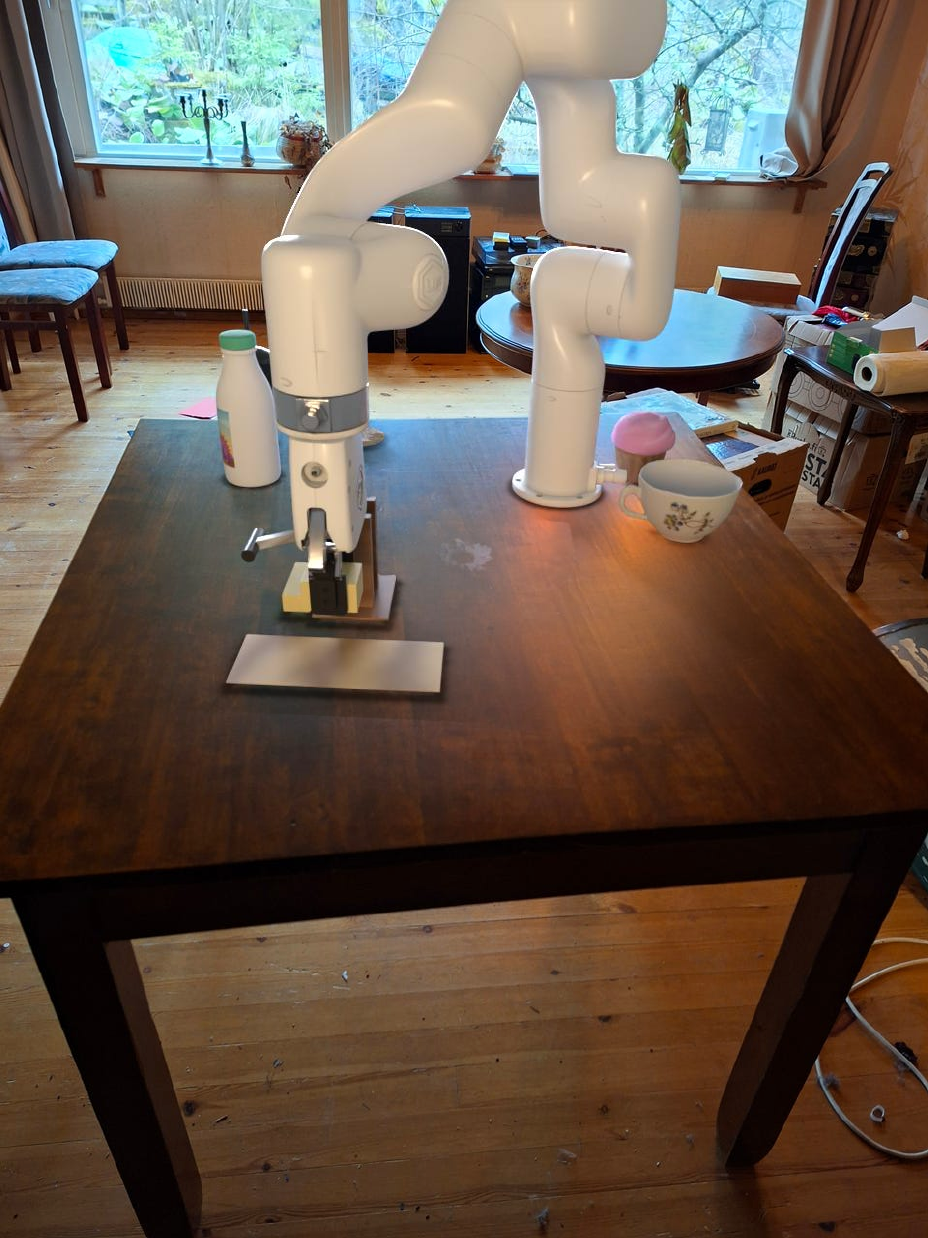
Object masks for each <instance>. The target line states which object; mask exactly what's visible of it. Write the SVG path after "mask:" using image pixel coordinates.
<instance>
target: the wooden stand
mask: <svg viewBox="0 0 928 1238" xmlns="http://www.w3.org/2000/svg"><path fill="white" fill-rule="evenodd" d="M377 510H378V509H377V497H376V496H367V510H366V515H365V519H364V522H363V526H362V530H361V533H360V536H359V540H358V543H357V545H356V548H355V549H354V563H362V571H363V593H362V597H361V601H360V605H359V609H358V612H357V613H347V614H346V615H345V616H331V615H314V614H313V613H312V615H311V618H312V619H329V620H331V619H333V620H355V621H356V620H358V621H380V622H381V621H382V622H389V619H390V615H391V609H392V605H393V598H394V594H395V589H396V588H395V587H396V584H397V579H398V578H397V574H379V548H378V546H379V544H378V542H379V541H378V515H377V513H378V512H377Z"/></svg>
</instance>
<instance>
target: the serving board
mask: <svg viewBox="0 0 928 1238" xmlns="http://www.w3.org/2000/svg"><path fill="white" fill-rule="evenodd" d="M444 646H445V643H444V642H442V641H441V642H437V641H415V640H414V641H413V640H395V639H393V640H392V639H391V640H390V639H368V638H367V639H365V638H343V637H319V636H299V635H298V636H297V635H296V636H295V635H271V634H250V633H248V634H246V635H245V637H244V640H243V642H242V645H241V646H240V649H239V651H238V654H237V656H236V658H235V661H234V663H233V665H232V667H231V670H230V671H229V674H228V677H227V679H226V681H225V684H237V685H238V684H239V685H263V686H285V687H287V686H288V687H308V688H309V687H311V688H330V689H332V688H333V689H334V688H335V689H354V690H355V689H358V690H376V691H377V690H380V691H399V692H401V691H402V692H403V691H404V692H423V693H424V692H425V693H427V692H428V693H440V692H441V680H442V669H443V660H444V659H443V657H444Z"/></svg>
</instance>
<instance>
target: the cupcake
mask: <svg viewBox="0 0 928 1238" xmlns="http://www.w3.org/2000/svg"><path fill="white" fill-rule="evenodd" d="M610 440H611V442H612V444H613V446H614V456H615V463H616V467H617V470H627V481H629V482H630V483H633V484H638V478H639V473H640V470H641V468H642V467H644V466H645V465H646V464H647V463H650V462H653V461H656V460H664V459H666V454H667V452H668V451H670V450H672V449H673V447H674V446H675V443H676V432H675V430H674V429H673V427H672V424H671V422H670V421H669V418H668V417H667V416H665V415H664V414H662V413H659V412H655V411H648V410H633V411H631V412H629V413H628V414H627V413H626V414H624V415H623V416H621V417H620V418H619V419H618V420H617V422H616V423H615V425H614V427H613V429H612V433H611V438H610Z"/></svg>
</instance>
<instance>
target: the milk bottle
mask: <svg viewBox="0 0 928 1238" xmlns="http://www.w3.org/2000/svg"><path fill="white" fill-rule="evenodd" d="M218 343H219V346H220V352H221V353H222V367H221V371H220V375H219V377H218V379H217V383H216V389H215V407H216V415H217V416H216V417H217V424H218V433H219V439H220V446H221V447H220V448H221V455H222V461H223V468H224V474H225V478H226V479H227V481H228V482H229V484H232V485H234V486H237V487H244V488H257V487H264V486H268V485H270V484H273V483H275V482H276V481H277V480H279V479H280V477H281V474H282V465H281V455H280V446H279V444H280V443H279V434H278V428H277V427H276V420H275V410H274V400H273V395H272V391H271V388H270V385H269V383H268V381H267V379H266V377H265V375H264V374H263V372H262V370H261V368H260V366H259V364H258V361H257V358H256V354H255V351H256V350H257V348H256V346H257V338H256V334H255V332H253V331H252V330H250V331H247V330H245V329H230V330H226V331H222V332H221V333H219V335H218Z"/></svg>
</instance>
